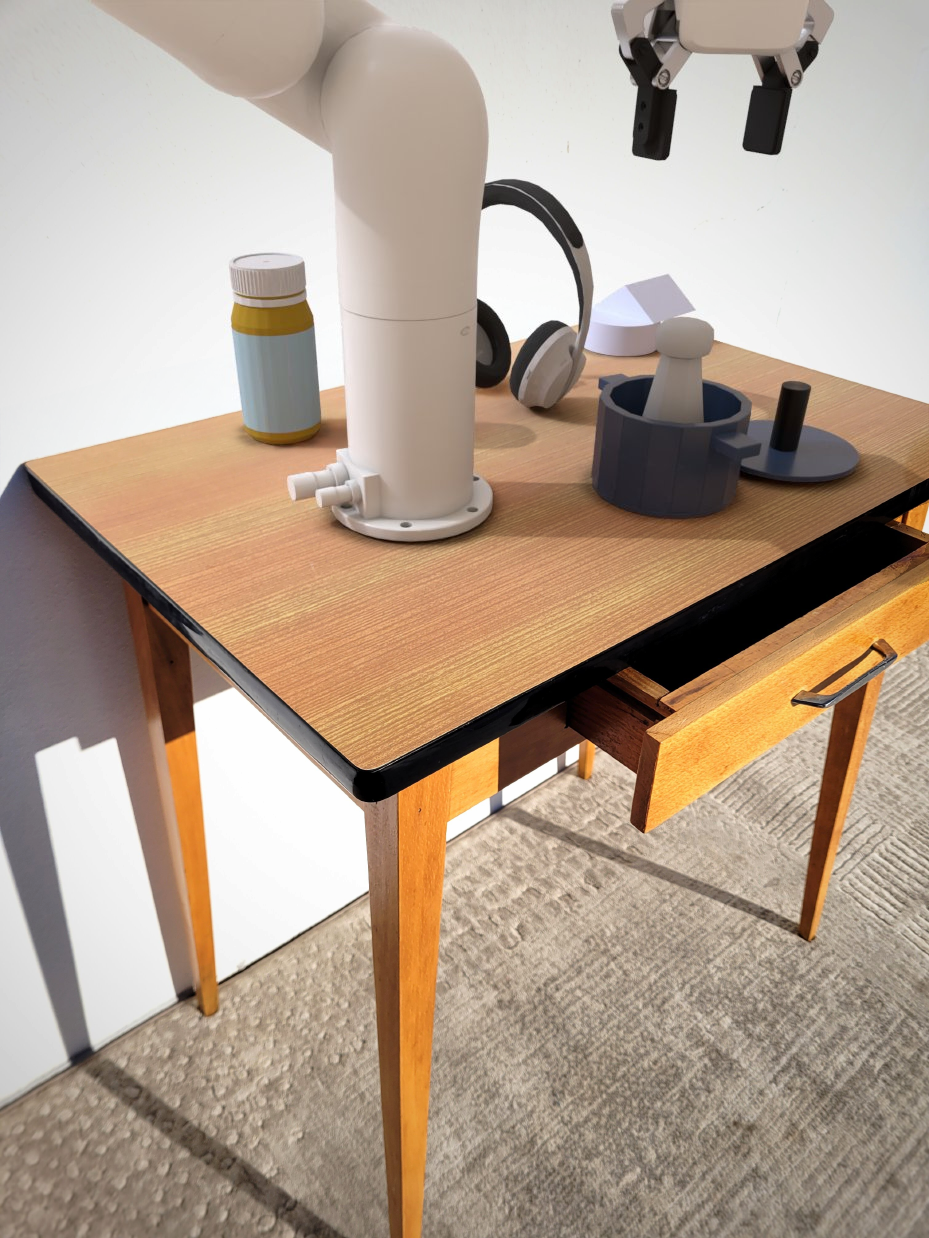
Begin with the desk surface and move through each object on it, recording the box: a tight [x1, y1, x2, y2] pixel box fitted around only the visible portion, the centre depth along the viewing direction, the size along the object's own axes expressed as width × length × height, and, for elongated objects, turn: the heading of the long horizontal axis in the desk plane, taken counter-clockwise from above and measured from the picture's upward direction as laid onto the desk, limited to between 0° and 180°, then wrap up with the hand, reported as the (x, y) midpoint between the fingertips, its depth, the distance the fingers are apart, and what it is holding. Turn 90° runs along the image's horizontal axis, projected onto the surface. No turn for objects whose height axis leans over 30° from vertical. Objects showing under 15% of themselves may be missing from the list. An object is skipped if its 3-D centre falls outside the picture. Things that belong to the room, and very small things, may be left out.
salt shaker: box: [642, 316, 715, 423], centre depth 72 cm, size 6×6×13 cm
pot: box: [590, 373, 762, 519], centre depth 74 cm, size 12×17×8 cm
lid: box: [740, 380, 860, 483], centre depth 79 cm, size 13×13×7 cm
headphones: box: [475, 178, 595, 409], centre depth 88 cm, size 19×8×20 cm, turn 45°
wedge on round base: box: [584, 273, 697, 357], centre depth 108 cm, size 9×7×13 cm
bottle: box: [228, 251, 322, 445], centre depth 80 cm, size 7×7×15 cm
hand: (706, 155), depth 62 cm, fingers open, 9 cm apart
